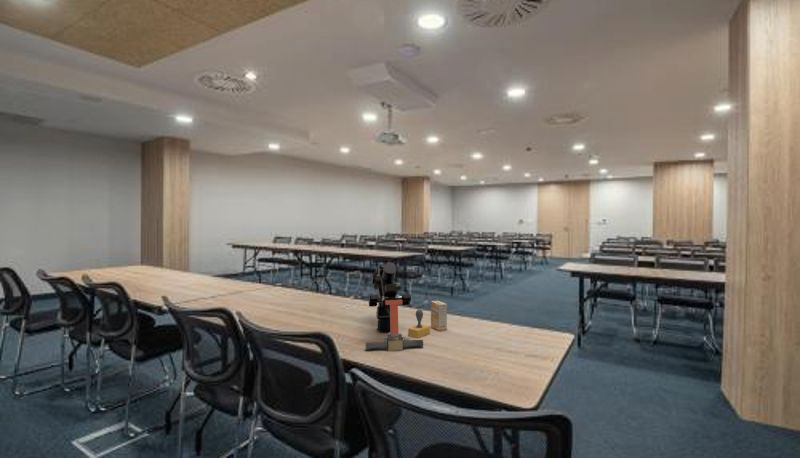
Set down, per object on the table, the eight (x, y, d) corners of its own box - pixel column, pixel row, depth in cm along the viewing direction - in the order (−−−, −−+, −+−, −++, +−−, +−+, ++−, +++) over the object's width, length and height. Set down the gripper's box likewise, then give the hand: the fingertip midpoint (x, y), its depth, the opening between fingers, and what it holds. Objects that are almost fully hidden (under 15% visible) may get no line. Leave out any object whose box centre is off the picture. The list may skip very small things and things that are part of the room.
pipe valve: (365, 348, 162) (365, 334, 162) (421, 344, 166) (421, 331, 166) (366, 352, 157) (366, 338, 157) (423, 348, 161) (423, 335, 161)
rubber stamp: (417, 338, 175) (417, 312, 175) (407, 336, 179) (407, 310, 179) (430, 333, 183) (430, 308, 182) (420, 331, 187) (420, 306, 186)
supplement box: (430, 326, 194) (430, 301, 193) (438, 325, 196) (438, 300, 195) (438, 331, 186) (438, 304, 186) (447, 330, 188) (447, 303, 188)
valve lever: (385, 337, 162) (385, 300, 164) (402, 336, 163) (401, 299, 165) (386, 338, 160) (385, 300, 162) (403, 337, 161) (402, 299, 163)
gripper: (369, 276, 171) (372, 307, 161) (410, 275, 175) (415, 305, 164) (367, 291, 179) (370, 321, 169) (406, 290, 183) (411, 319, 172)
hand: (391, 316), depth 168 cm, fingers closed
